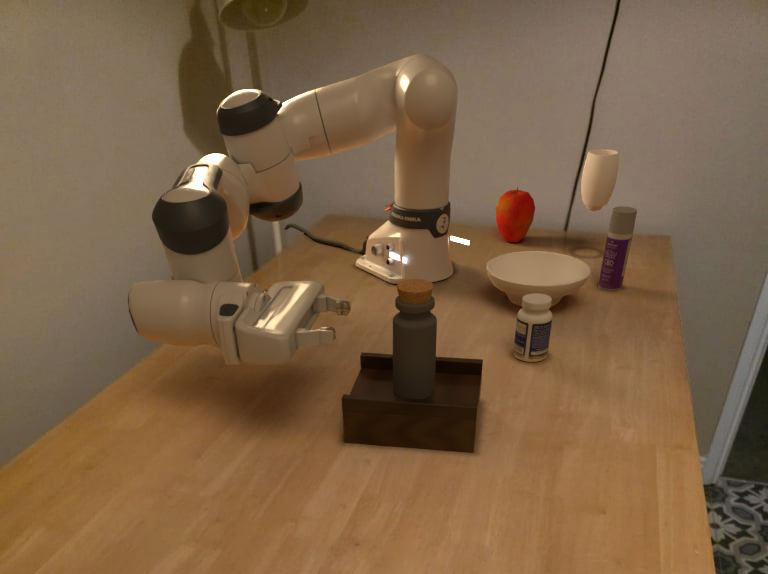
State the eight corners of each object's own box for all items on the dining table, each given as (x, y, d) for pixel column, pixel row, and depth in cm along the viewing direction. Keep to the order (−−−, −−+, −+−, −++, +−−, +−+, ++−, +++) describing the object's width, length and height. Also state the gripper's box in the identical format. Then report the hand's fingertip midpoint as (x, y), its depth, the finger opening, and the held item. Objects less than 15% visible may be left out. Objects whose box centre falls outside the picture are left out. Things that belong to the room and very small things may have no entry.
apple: (489, 236, 165) (493, 183, 157) (525, 234, 165) (530, 181, 158) (498, 247, 157) (503, 193, 150) (535, 245, 158) (542, 191, 150)
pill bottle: (549, 350, 114) (557, 293, 108) (544, 365, 110) (552, 306, 104) (516, 346, 116) (522, 289, 109) (509, 360, 111) (516, 302, 105)
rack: (344, 442, 93) (341, 398, 88) (363, 393, 104) (361, 352, 99) (473, 452, 90) (477, 407, 86) (479, 401, 101) (483, 359, 97)
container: (596, 289, 135) (610, 211, 126) (599, 282, 139) (613, 205, 129) (620, 292, 134) (636, 213, 125) (622, 284, 137) (639, 207, 128)
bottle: (431, 402, 91) (434, 294, 82) (389, 399, 92) (388, 292, 83) (437, 382, 95) (441, 278, 86) (397, 379, 96) (396, 275, 87)
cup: (577, 245, 157) (593, 147, 144) (607, 251, 154) (626, 150, 141) (565, 254, 153) (580, 153, 140) (595, 259, 150) (613, 157, 137)
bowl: (522, 277, 142) (526, 244, 137) (603, 301, 131) (610, 266, 126) (463, 303, 131) (465, 268, 127) (546, 331, 120) (551, 294, 116)
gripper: (269, 309, 101) (358, 313, 99) (221, 371, 85) (326, 377, 83) (263, 267, 97) (356, 270, 95) (212, 324, 81) (322, 329, 79)
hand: (342, 321), depth 89 cm, fingers open, 8 cm apart
